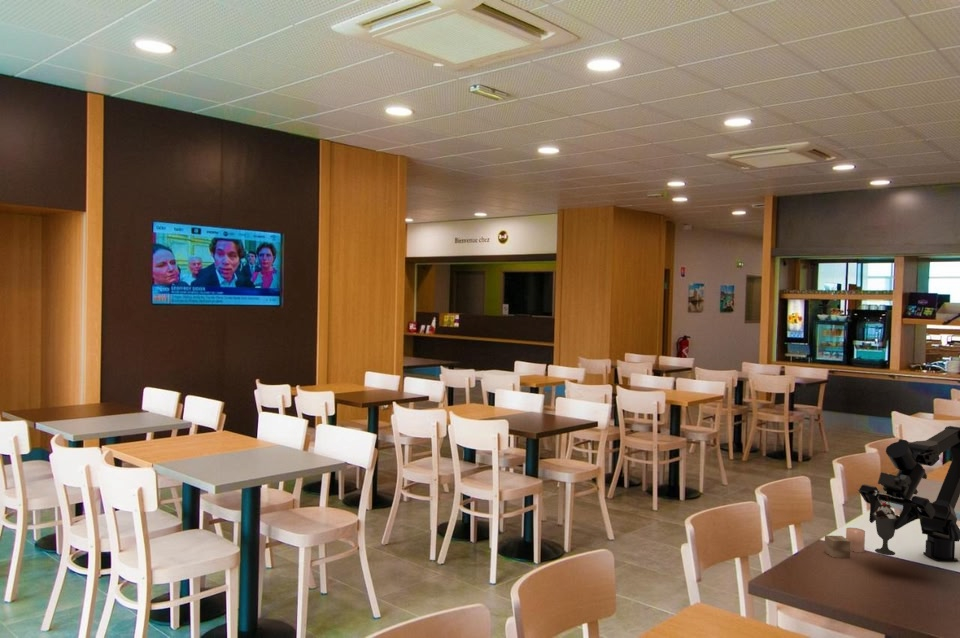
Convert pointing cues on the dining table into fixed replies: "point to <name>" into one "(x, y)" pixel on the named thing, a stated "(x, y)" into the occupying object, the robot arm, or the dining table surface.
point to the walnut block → (837, 546)
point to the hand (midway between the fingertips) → (882, 525)
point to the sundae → (885, 526)
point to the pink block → (856, 539)
